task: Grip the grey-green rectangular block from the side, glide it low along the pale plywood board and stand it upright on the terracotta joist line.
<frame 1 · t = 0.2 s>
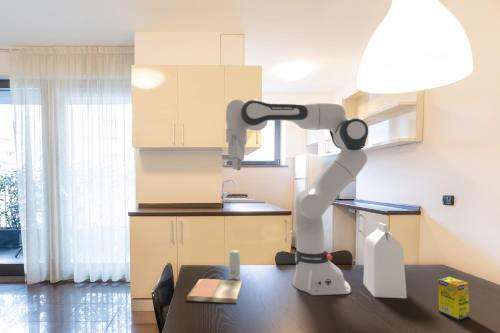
hand: (236, 169, 112), 48 cm above the table, tool pointing down, fingers open, 8 cm apart
supplement box: (454, 315, 84), on the table
milk: (383, 291, 102), on the table
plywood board: (216, 292, 101), on the table
grey-green rectangular block: (234, 279, 113), on the table
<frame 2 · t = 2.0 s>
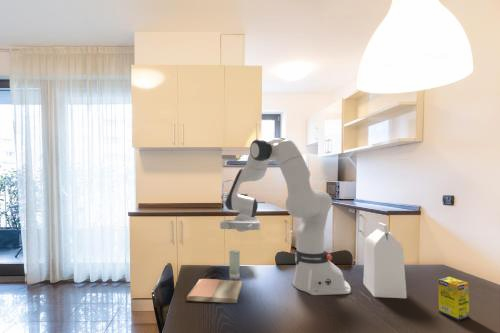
hand: (238, 227, 126), 20 cm above the table, tool horizontal, fingers open, 8 cm apart
nothing on the table moved.
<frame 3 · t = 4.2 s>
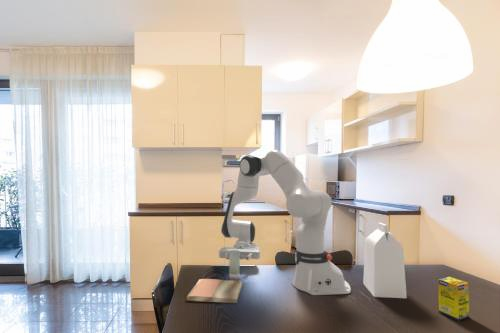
hand: (237, 257, 121), 7 cm above the table, tool horizontal, fingers open, 8 cm apart
nothing on the table moved.
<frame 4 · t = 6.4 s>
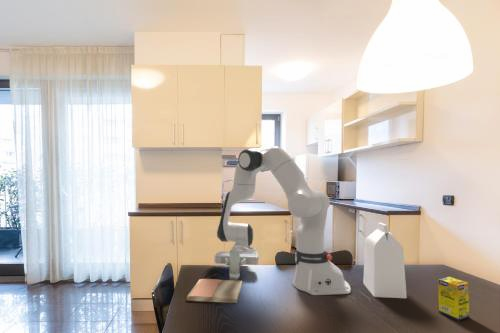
hand: (234, 263, 112), 7 cm above the table, tool horizontal, fingers closed on grey-green rectangular block, 4 cm apart
grey-green rectangular block: (234, 279, 113), on the table, touching gripper
everything else where it was.
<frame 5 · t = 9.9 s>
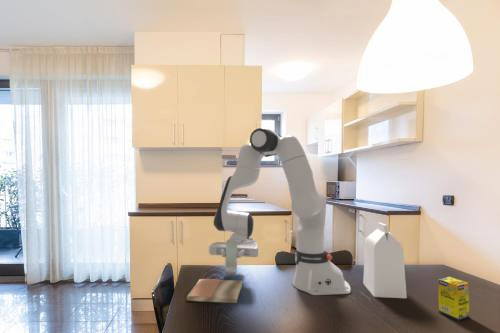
hand: (231, 255, 100), 14 cm above the table, tool horizontal, fingers closed on grey-green rectangular block, 4 cm apart
grey-green rectangular block: (230, 272, 101), point 7 cm above the table, touching gripper
everything else where it was.
when the fingers open (9 cm above the table, at t = 13.3 s): grey-green rectangular block stays where it is, resting on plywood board.
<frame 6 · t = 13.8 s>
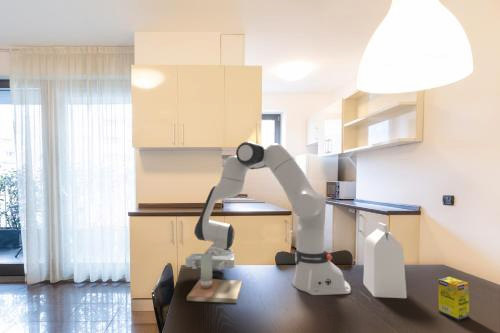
hand: (206, 267, 100), 9 cm above the table, tool horizontal, fingers open, 8 cm apart
grey-green rectangular block: (206, 287, 101), point 2 cm above the table, touching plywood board
everything else where it was.
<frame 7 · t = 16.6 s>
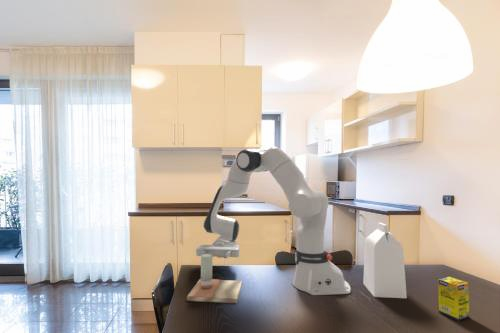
hand: (214, 256, 114), 10 cm above the table, tool horizontal, fingers open, 8 cm apart
nothing on the table moved.
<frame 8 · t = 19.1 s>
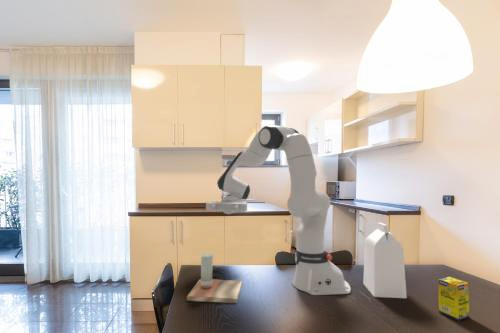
hand: (224, 208, 121), 30 cm above the table, tool horizontal, fingers open, 8 cm apart
nothing on the table moved.
at the end: grey-green rectangular block inside the target area on the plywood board (0.0 cm from its centre), point 1.7 cm above the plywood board's base; grey-green rectangular block tilted 0°; the gripper is holding nothing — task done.
